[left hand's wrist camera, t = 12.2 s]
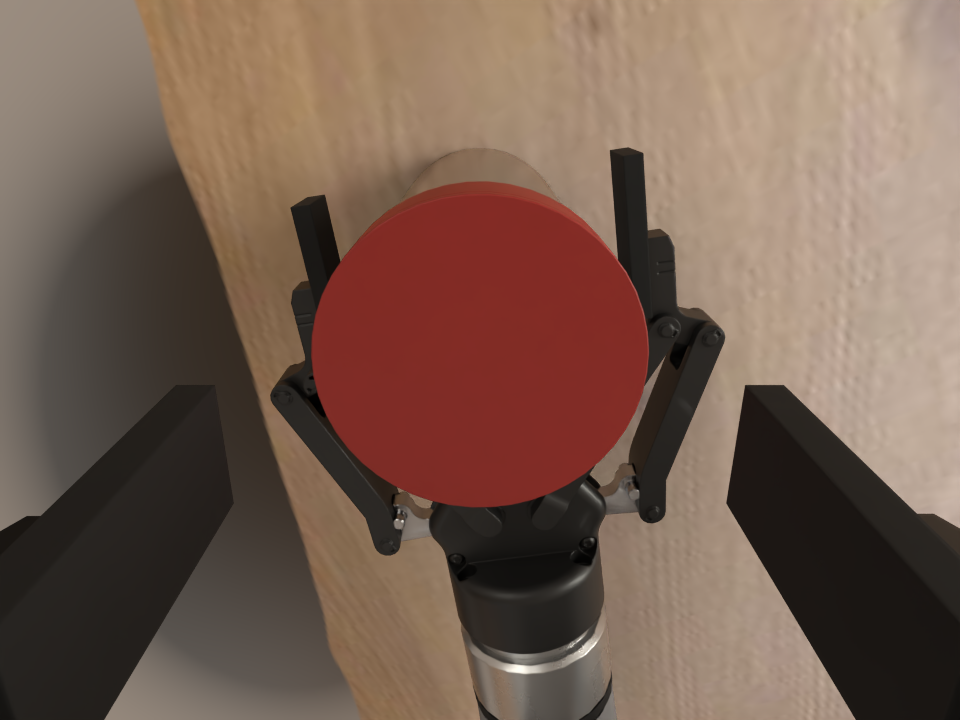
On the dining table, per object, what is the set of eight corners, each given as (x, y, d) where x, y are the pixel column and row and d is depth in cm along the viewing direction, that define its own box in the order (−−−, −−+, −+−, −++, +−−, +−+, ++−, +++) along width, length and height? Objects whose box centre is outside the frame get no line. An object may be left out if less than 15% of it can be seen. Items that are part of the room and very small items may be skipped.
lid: (666, 214, 19) (692, 230, 16) (588, 484, 22) (601, 529, 19) (347, 152, 18) (328, 161, 16) (316, 439, 21) (296, 481, 19)
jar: (577, 165, 33) (671, 236, 17) (541, 321, 36) (591, 510, 20) (411, 133, 32) (343, 174, 16) (388, 294, 35) (312, 465, 19)
